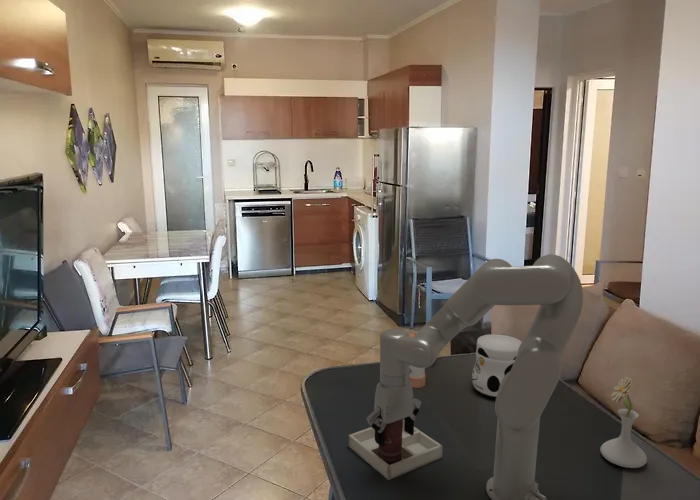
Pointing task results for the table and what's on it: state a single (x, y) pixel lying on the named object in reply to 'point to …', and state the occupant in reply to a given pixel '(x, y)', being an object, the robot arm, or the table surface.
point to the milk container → (493, 362)
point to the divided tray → (414, 451)
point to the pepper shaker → (417, 373)
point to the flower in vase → (624, 433)
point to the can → (392, 443)
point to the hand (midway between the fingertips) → (394, 438)
